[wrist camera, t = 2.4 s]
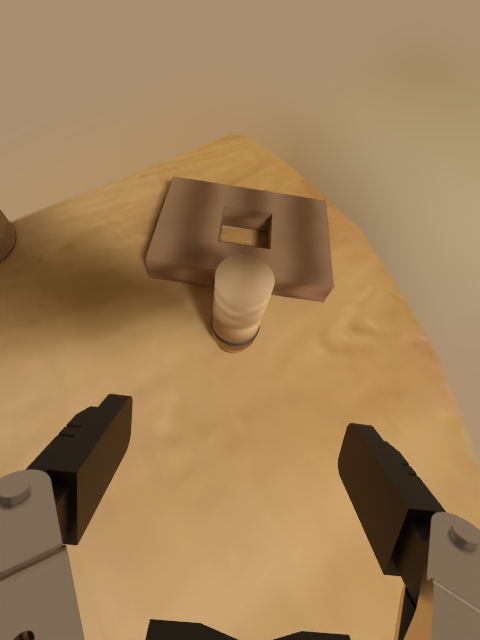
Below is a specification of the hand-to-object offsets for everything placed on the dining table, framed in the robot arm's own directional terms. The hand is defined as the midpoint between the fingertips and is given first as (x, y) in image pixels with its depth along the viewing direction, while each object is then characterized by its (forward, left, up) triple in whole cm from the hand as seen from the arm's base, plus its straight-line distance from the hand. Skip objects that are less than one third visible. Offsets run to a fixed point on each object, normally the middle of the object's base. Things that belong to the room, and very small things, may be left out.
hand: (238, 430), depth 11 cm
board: (0, +24, -16) cm, 29 cm away
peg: (0, +11, -16) cm, 19 cm away
